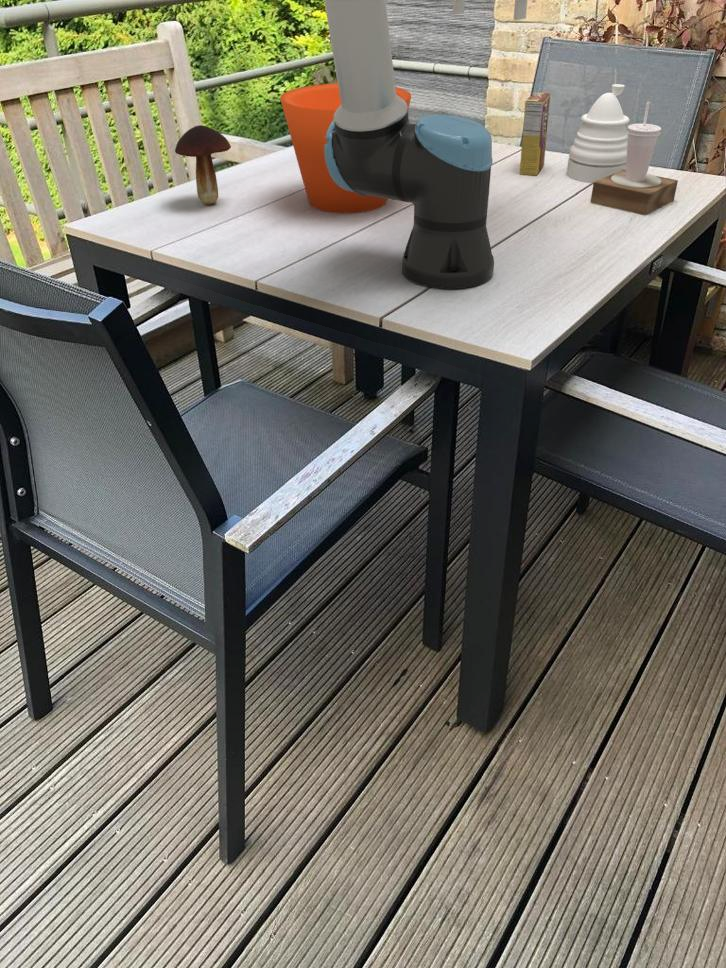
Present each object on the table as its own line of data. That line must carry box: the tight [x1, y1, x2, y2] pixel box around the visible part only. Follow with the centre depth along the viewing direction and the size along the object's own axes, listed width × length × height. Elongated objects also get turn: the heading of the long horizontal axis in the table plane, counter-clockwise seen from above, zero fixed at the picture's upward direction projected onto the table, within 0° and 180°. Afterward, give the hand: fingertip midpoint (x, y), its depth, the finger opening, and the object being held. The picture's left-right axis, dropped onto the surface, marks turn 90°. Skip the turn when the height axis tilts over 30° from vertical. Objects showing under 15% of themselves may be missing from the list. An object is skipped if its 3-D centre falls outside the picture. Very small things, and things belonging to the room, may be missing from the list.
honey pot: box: [566, 83, 631, 184], centre depth 176 cm, size 13×13×18 cm
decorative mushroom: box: [174, 125, 232, 205], centre depth 164 cm, size 11×11×15 cm
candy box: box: [519, 92, 551, 177], centre depth 181 cm, size 9×4×15 cm, turn 160°
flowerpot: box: [279, 82, 412, 214], centre depth 163 cm, size 25×25×20 cm
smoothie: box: [626, 101, 662, 182], centre depth 160 cm, size 6×6×14 cm
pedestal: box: [590, 169, 679, 216], centre depth 165 cm, size 12×12×4 cm
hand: (488, 16), depth 150 cm, fingers open, 13 cm apart
